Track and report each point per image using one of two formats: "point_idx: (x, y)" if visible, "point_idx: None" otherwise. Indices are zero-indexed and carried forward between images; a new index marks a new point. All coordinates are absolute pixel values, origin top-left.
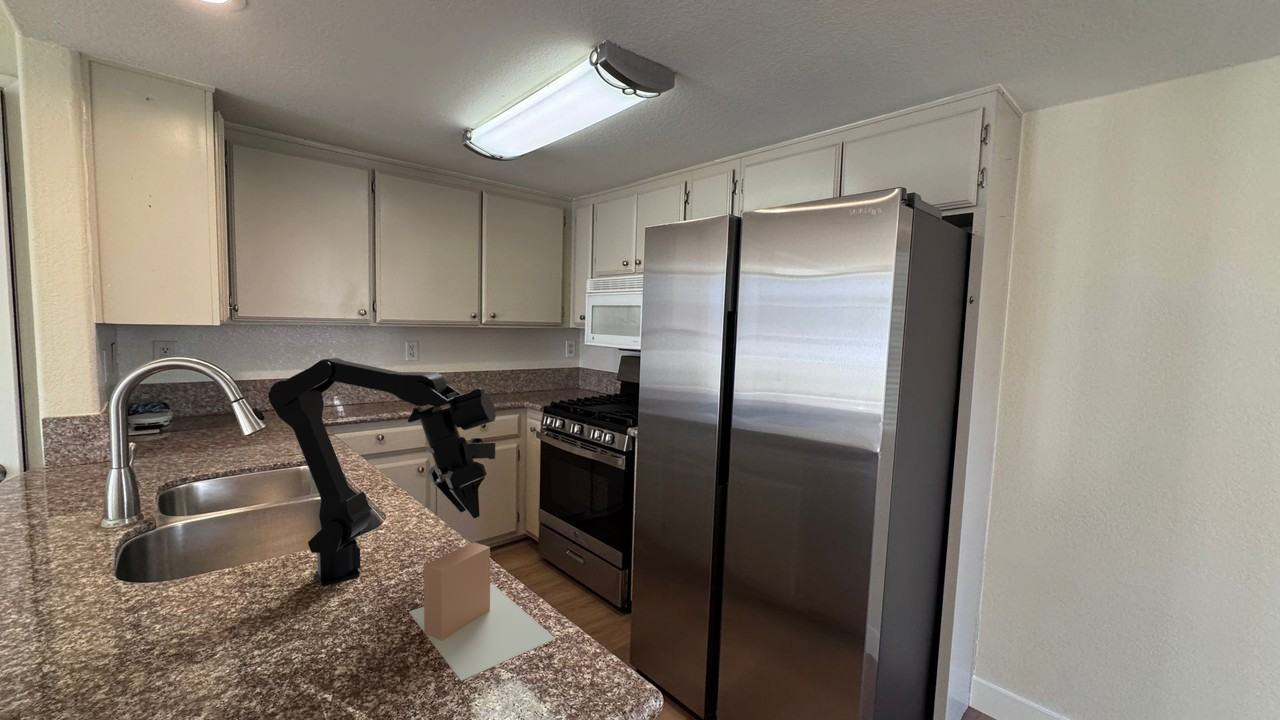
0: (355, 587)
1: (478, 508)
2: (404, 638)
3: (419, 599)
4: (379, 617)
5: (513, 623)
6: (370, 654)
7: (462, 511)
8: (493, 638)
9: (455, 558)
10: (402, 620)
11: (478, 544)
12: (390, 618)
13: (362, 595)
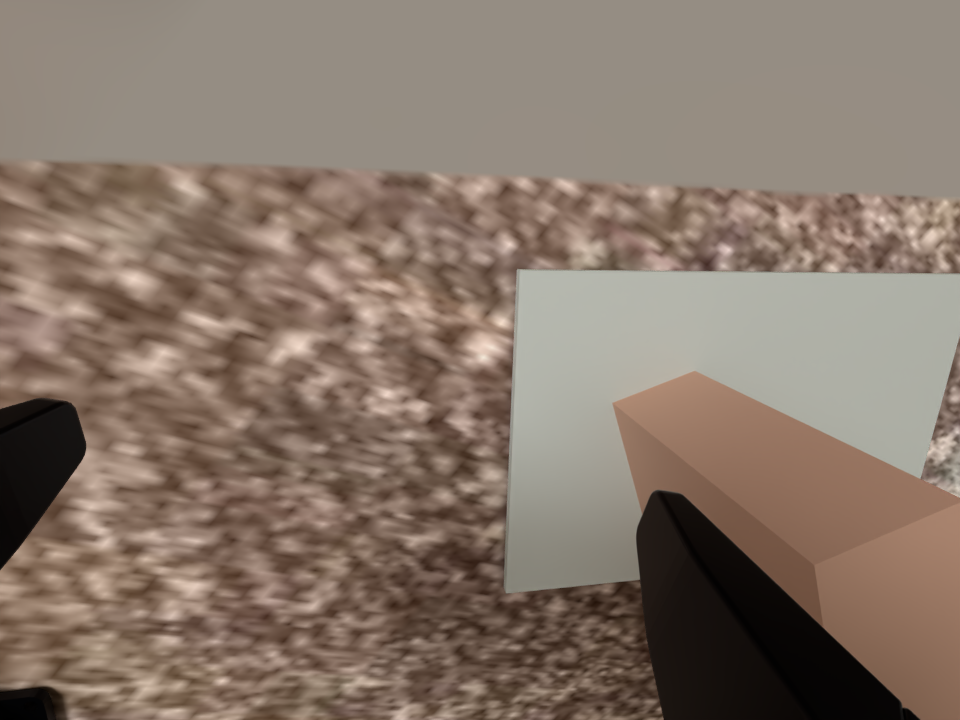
0: (158, 701)
1: (747, 567)
2: (615, 612)
3: (415, 532)
4: (449, 654)
5: (818, 341)
6: (622, 688)
7: (81, 439)
8: (831, 427)
9: (920, 704)
10: (516, 602)
11: (875, 547)
12: (479, 629)
13: (249, 685)
